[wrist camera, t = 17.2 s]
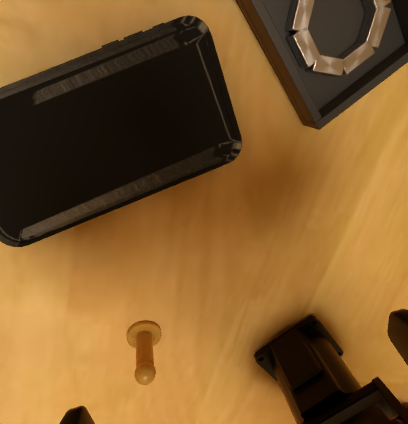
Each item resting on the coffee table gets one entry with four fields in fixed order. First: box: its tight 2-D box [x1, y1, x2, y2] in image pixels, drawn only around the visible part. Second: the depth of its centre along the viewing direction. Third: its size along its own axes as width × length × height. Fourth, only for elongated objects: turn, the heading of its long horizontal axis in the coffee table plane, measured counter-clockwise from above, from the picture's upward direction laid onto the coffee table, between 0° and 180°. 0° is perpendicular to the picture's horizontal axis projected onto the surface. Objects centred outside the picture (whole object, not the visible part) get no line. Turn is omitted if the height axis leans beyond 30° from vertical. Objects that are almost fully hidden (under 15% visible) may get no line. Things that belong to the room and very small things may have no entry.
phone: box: [0, 16, 242, 247], centre depth 17 cm, size 8×1×15 cm
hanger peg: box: [127, 321, 161, 385], centre depth 22 cm, size 3×3×4 cm
